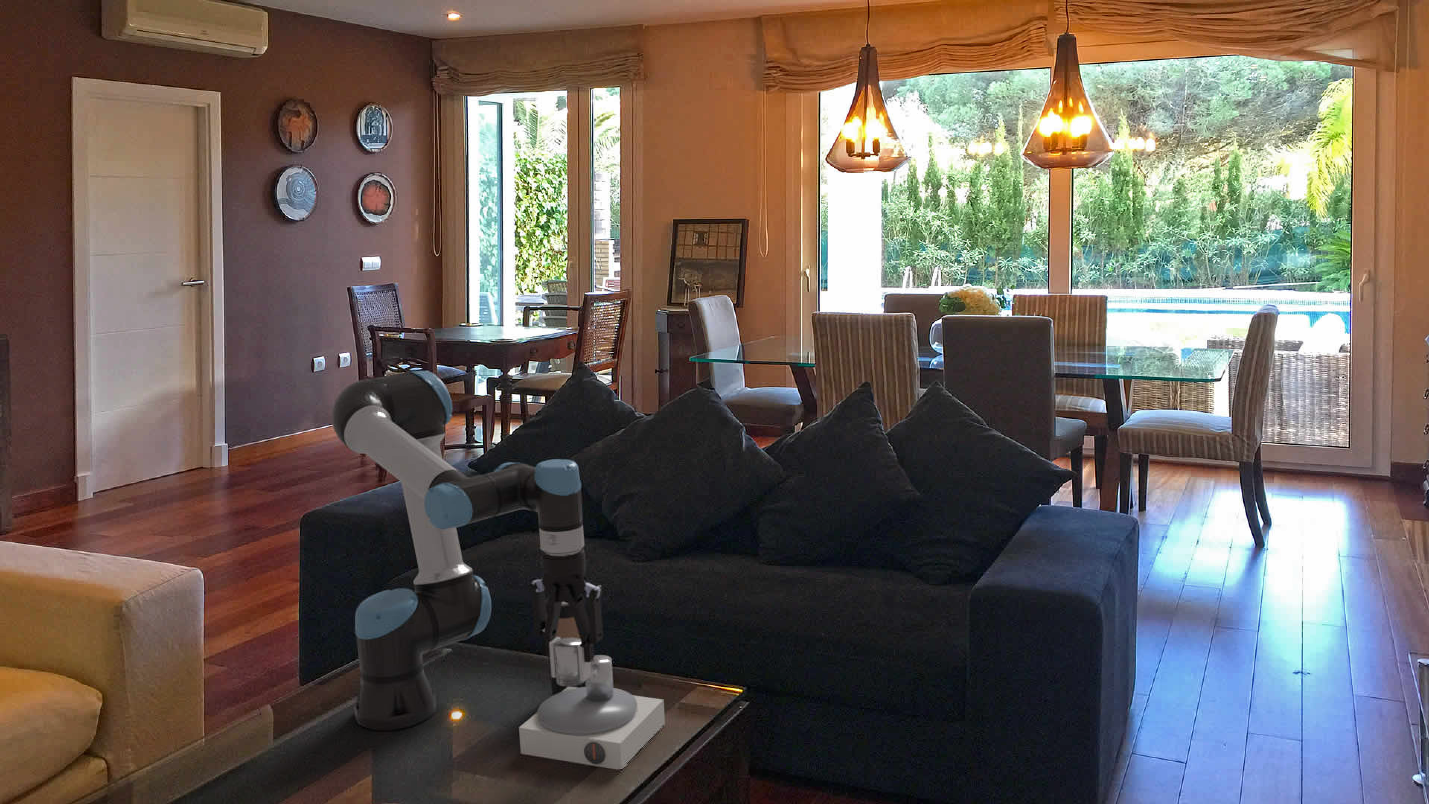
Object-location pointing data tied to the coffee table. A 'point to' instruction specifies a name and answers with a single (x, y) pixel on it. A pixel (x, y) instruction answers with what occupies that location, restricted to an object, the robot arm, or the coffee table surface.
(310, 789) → the coffee table surface
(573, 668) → the cylinder
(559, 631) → the travel mug
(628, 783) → the coffee table surface
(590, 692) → the cylinder
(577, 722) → the scale
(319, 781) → the coffee table surface
